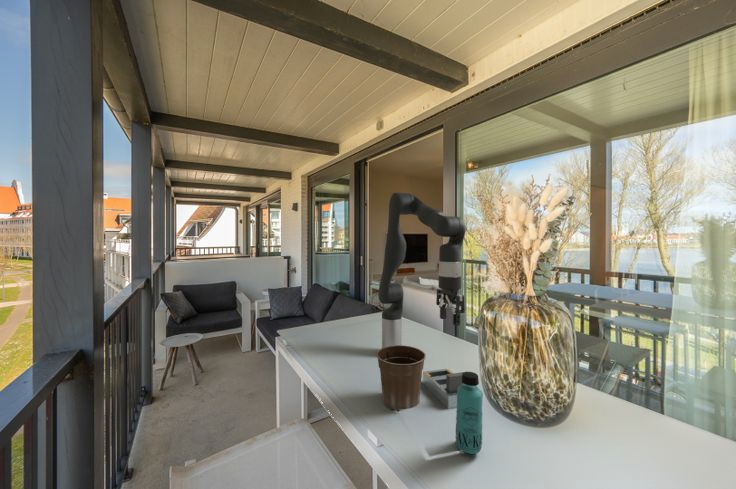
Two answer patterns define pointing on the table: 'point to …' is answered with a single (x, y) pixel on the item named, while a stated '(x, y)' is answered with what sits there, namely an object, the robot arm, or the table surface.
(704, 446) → the table surface
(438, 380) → the rack
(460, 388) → the beverage bottle
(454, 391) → the panel
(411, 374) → the plant pot
